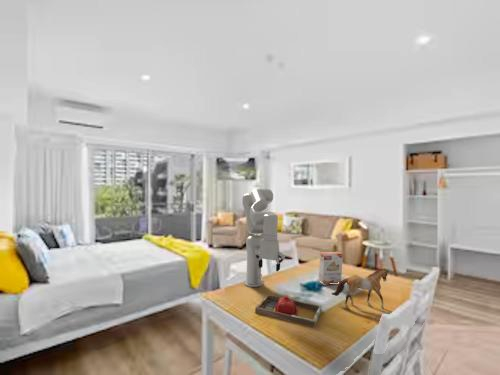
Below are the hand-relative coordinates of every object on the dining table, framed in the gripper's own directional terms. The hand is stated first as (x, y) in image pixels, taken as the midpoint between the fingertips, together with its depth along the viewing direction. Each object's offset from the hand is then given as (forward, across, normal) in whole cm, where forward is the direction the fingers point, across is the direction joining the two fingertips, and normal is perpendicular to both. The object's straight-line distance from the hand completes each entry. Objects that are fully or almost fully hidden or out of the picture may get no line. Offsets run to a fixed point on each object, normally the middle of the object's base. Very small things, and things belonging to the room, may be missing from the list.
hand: (269, 269), depth 144 cm
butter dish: (+21, +10, 0) cm, 23 cm away
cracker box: (+21, +24, +52) cm, 61 cm away
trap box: (+21, +11, +1) cm, 24 cm away
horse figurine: (+21, +44, +28) cm, 56 cm away
